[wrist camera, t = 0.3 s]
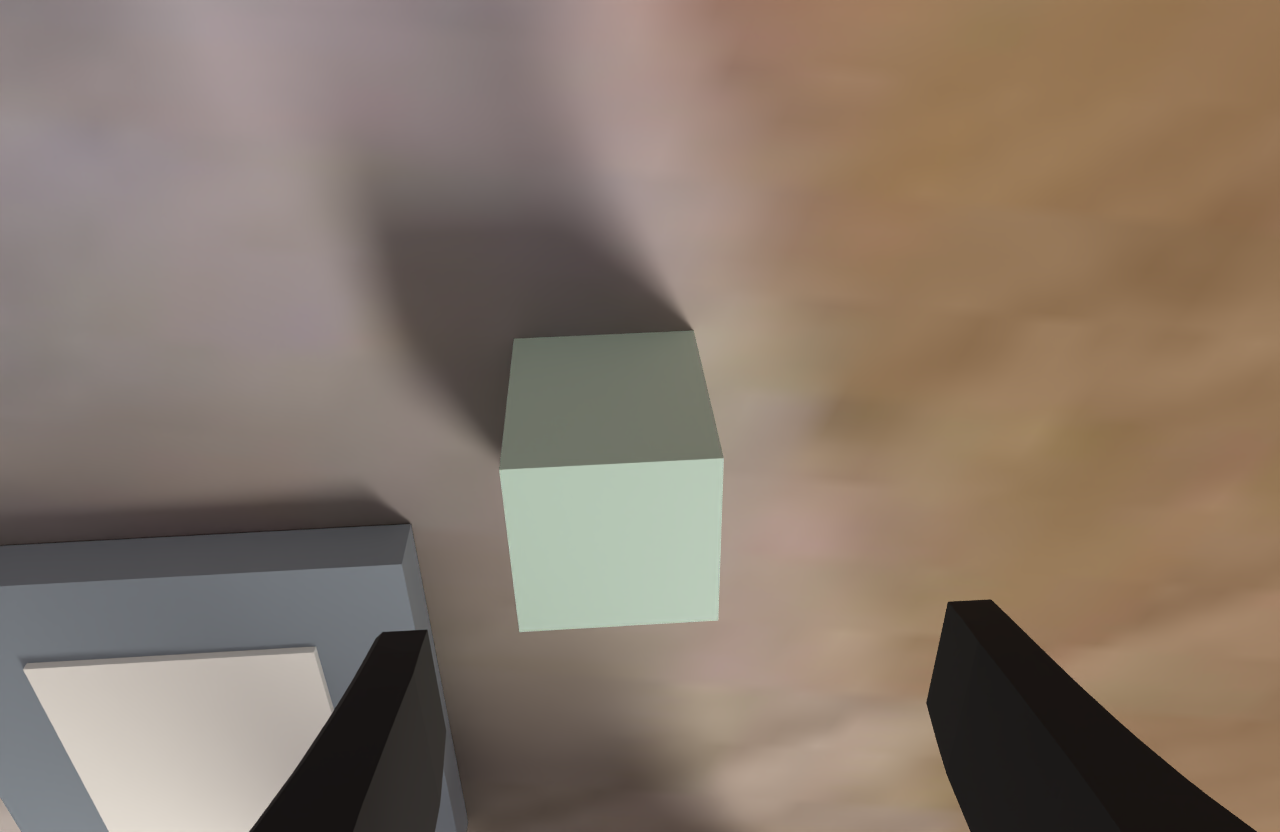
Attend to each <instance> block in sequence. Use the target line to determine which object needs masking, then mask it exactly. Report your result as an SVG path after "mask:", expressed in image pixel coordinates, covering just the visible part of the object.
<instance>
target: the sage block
mask: <svg viewBox="0 0 1280 832" xmlns="http://www.w3.org/2000/svg"><path fill="white" fill-rule="evenodd" d="M723 463H724V458H723V453H722V449H721V445H720V441H719V436H718V432H717V428H716V424H715V419H714V415H713V411H712V407H711V402H710V398H709V394H708V390H707V385H706V381H705V377H704V373H703V368H702V364H701V360H700V356H699V351H698V347H697V343H696V339H695V335H694V330H693V331H671V332H650V333H628V334H606V335H584V336H562V337H540V338H518V339H514V342H513V351H512V360H511V369H510V378H509V387H508V396H507V405H506V414H505V423H504V432H503V441H502V450H501V458H500V467H499V472H500V480H501V488H502V496H503V504H504V512H505V520H506V528H507V537H508V545H509V553H510V561H511V569H512V577H513V585H514V593H515V601H516V609H517V617H518V625H519V632H528V631H545V630H562V629H579V628H597V627H614V626H631V625H648V624H665V623H682V622H699V621H716V620H718V610H719V580H720V551H721V522H722V492H723Z"/></svg>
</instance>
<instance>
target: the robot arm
mask: <svg viewBox="0 0 1280 832" xmlns="http://www.w3.org/2000/svg"><path fill="white" fill-rule="evenodd" d="M926 704H927V707H928V711H929V715H930V718H931V722H932V726H933V729H934V733H935V737H936V740H937V744H938V747H939V750H940V754H941V757H942V760H943V764H944V767H945V770H946V774H947V776H948V778H949V781H950V783H951V786H952V788H953V791H954V793H955V796H956V798H957V800H958V803H959V805H960V808H961V810H962V812H963V815H964V817H965V819H966V822H967V824H968V827H969V829H970V831H971V832H1257V831H1255V830H1254V829H1253V828H1251V827H1250V826H1248V825H1247V824H1246V823H1244V822H1243V821H1242V820H1240V819H1239V818H1238V817H1236V816H1235V815H1234V814H1232V813H1231V812H1230V811H1228V810H1227V809H1225V808H1224V807H1223V806H1221V805H1220V804H1219V803H1217V802H1216V801H1215V800H1213V799H1212V798H1211V797H1209V796H1208V795H1207V794H1205V793H1204V792H1203V791H1202V790H1200V789H1199V788H1198V787H1196V786H1195V785H1194V784H1193V783H1191V782H1190V781H1189V780H1187V779H1186V778H1185V777H1184V776H1182V775H1181V774H1180V773H1179V772H1178V771H1176V770H1175V769H1174V768H1173V767H1172V766H1170V765H1169V764H1168V763H1167V762H1166V761H1164V760H1163V759H1162V758H1161V757H1160V756H1158V755H1157V754H1156V753H1155V752H1154V751H1152V750H1151V749H1150V748H1149V747H1148V746H1146V745H1145V744H1144V743H1143V742H1142V741H1140V740H1139V739H1138V738H1137V737H1136V736H1135V735H1134V734H1132V733H1131V732H1130V731H1129V730H1128V729H1127V728H1126V727H1124V726H1123V725H1122V724H1121V723H1120V722H1119V721H1118V720H1117V719H1116V718H1114V717H1113V716H1112V715H1111V714H1110V713H1109V712H1108V711H1107V710H1106V709H1105V708H1104V707H1102V706H1101V705H1100V704H1099V703H1098V702H1097V701H1096V700H1095V699H1094V698H1093V697H1092V696H1090V695H1089V694H1088V693H1087V692H1086V691H1085V690H1084V689H1083V688H1082V687H1081V686H1080V685H1079V684H1078V683H1077V682H1075V681H1074V680H1073V679H1072V678H1071V677H1070V676H1069V675H1068V674H1067V673H1066V672H1065V671H1064V670H1063V669H1062V668H1061V667H1060V666H1059V665H1058V664H1057V663H1056V662H1055V661H1054V660H1053V659H1052V658H1051V657H1050V656H1048V655H1047V654H1046V653H1045V652H1044V651H1043V650H1042V649H1041V648H1040V647H1039V646H1038V645H1037V644H1036V643H1035V642H1034V641H1033V640H1032V639H1031V638H1030V637H1029V636H1028V635H1027V634H1026V633H1025V632H1024V631H1023V630H1022V629H1021V628H1020V627H1019V626H1018V625H1017V624H1016V623H1015V622H1014V621H1013V620H1012V619H1011V618H1010V617H1009V616H1008V615H1007V614H1006V613H1004V612H1003V611H1002V610H1001V609H1000V608H999V607H998V606H997V605H996V604H995V603H994V602H993V601H992V600H973V601H954V602H948V604H947V609H946V614H945V618H944V623H943V628H942V632H941V637H940V642H939V646H938V651H937V656H936V660H935V665H934V670H933V674H932V679H931V684H930V688H929V693H928V698H927V702H926ZM445 740H446V727H445V721H444V716H443V711H442V705H441V700H440V694H439V689H438V684H437V678H436V673H435V667H434V662H433V656H432V651H431V646H430V640H429V635H428V629H427V630H409V631H390V632H382V633H381V634H380V635H379V636H378V637H377V638H376V639H375V640H374V642H373V644H372V646H371V648H370V650H369V651H368V653H367V655H366V657H365V659H364V660H363V662H362V664H361V666H360V668H359V669H358V671H357V673H356V674H355V676H354V678H353V680H352V681H351V683H350V685H349V686H348V688H347V690H346V691H345V693H344V695H343V696H342V698H341V700H340V701H339V703H338V704H337V706H336V708H335V709H334V711H333V712H332V714H331V716H330V717H329V719H328V720H327V722H326V723H325V725H324V726H323V728H322V729H321V731H320V732H319V734H318V736H317V737H316V739H315V740H314V742H313V743H312V745H311V746H310V748H309V749H308V751H307V752H306V754H305V755H304V757H303V758H302V760H301V761H300V763H299V764H298V766H297V767H296V768H295V770H294V771H293V773H292V774H291V776H290V777H289V778H288V780H287V781H286V782H285V784H284V785H283V786H282V788H281V789H280V791H279V792H278V793H277V795H276V796H275V797H274V799H273V800H272V801H271V803H270V804H269V806H268V807H267V808H266V810H265V811H264V812H263V814H262V815H261V816H260V818H259V819H258V820H257V822H256V823H255V824H254V826H253V827H252V828H251V830H250V831H249V832H435V829H436V824H437V819H438V813H439V808H440V801H441V790H442V779H443V767H444V754H445Z"/></svg>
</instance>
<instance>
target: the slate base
mask: <svg viewBox="0 0 1280 832" xmlns="http://www.w3.org/2000/svg"><path fill="white" fill-rule="evenodd" d="M427 629H428V635H429V640H430V646H431V651H432V656H433V662H434V667H435V673H436V678H437V684H438V689H439V694H440V700H441V705H442V711H443V716H444V721H445V727H446V740H445V754H444V767H443V779H442V790H441V801H440V808H439V813H438V819H437V824H436V829H435V832H467V826H468V818H467V813H466V808H465V802H464V797H463V792H462V787H461V782H460V776H459V771H458V766H457V761H456V756H455V750H454V745H453V740H452V735H451V729H450V724H449V719H448V714H447V709H446V703H445V698H444V693H443V688H442V683H441V677H440V672H439V667H438V662H437V657H436V651H435V646H434V641H433V636H432V631H431V625H430V620H429V615H428V610H427V605H426V599H425V594H424V589H423V584H422V579H421V573H420V568H419V563H418V558H417V553H416V547H415V542H414V537H413V532H412V526H411V524H402V525H383V526H364V527H346V528H327V529H308V530H289V531H271V532H252V533H233V534H214V535H196V536H177V537H158V538H139V539H121V540H102V541H83V542H64V543H46V544H27V545H8V546H0V798H1V799H2V801H3V803H4V804H5V806H6V807H7V809H8V811H9V812H10V814H11V816H12V817H13V819H14V821H15V822H16V824H17V825H18V827H19V829H20V830H21V832H249V831H250V830H251V828H252V827H253V826H254V824H255V823H256V822H257V820H258V819H259V818H260V816H261V815H262V814H263V812H264V811H265V810H266V808H267V807H268V806H269V804H270V803H271V801H272V800H273V799H274V797H275V796H276V795H277V793H278V792H279V791H280V789H281V788H282V786H283V785H284V784H285V782H286V781H287V780H288V778H289V777H290V776H291V774H292V773H293V771H294V770H295V768H296V767H297V766H298V764H299V763H300V761H301V760H302V758H303V757H304V755H305V754H306V752H307V751H308V749H309V748H310V746H311V745H312V743H313V742H314V740H315V739H316V737H317V736H318V734H319V732H320V731H321V729H322V728H323V726H324V725H325V723H326V722H327V720H328V719H329V717H330V716H331V714H332V712H333V711H334V709H335V708H336V706H337V704H338V703H339V701H340V700H341V698H342V696H343V695H344V693H345V691H346V690H347V688H348V686H349V685H350V683H351V681H352V680H353V678H354V676H355V674H356V673H357V671H358V669H359V668H360V666H361V664H362V662H363V660H364V659H365V657H366V655H367V653H368V651H369V650H370V648H371V646H372V644H373V642H374V640H375V639H376V638H377V637H378V636H379V635H380V634H381V633H382V632H390V631H409V630H427Z"/></svg>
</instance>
